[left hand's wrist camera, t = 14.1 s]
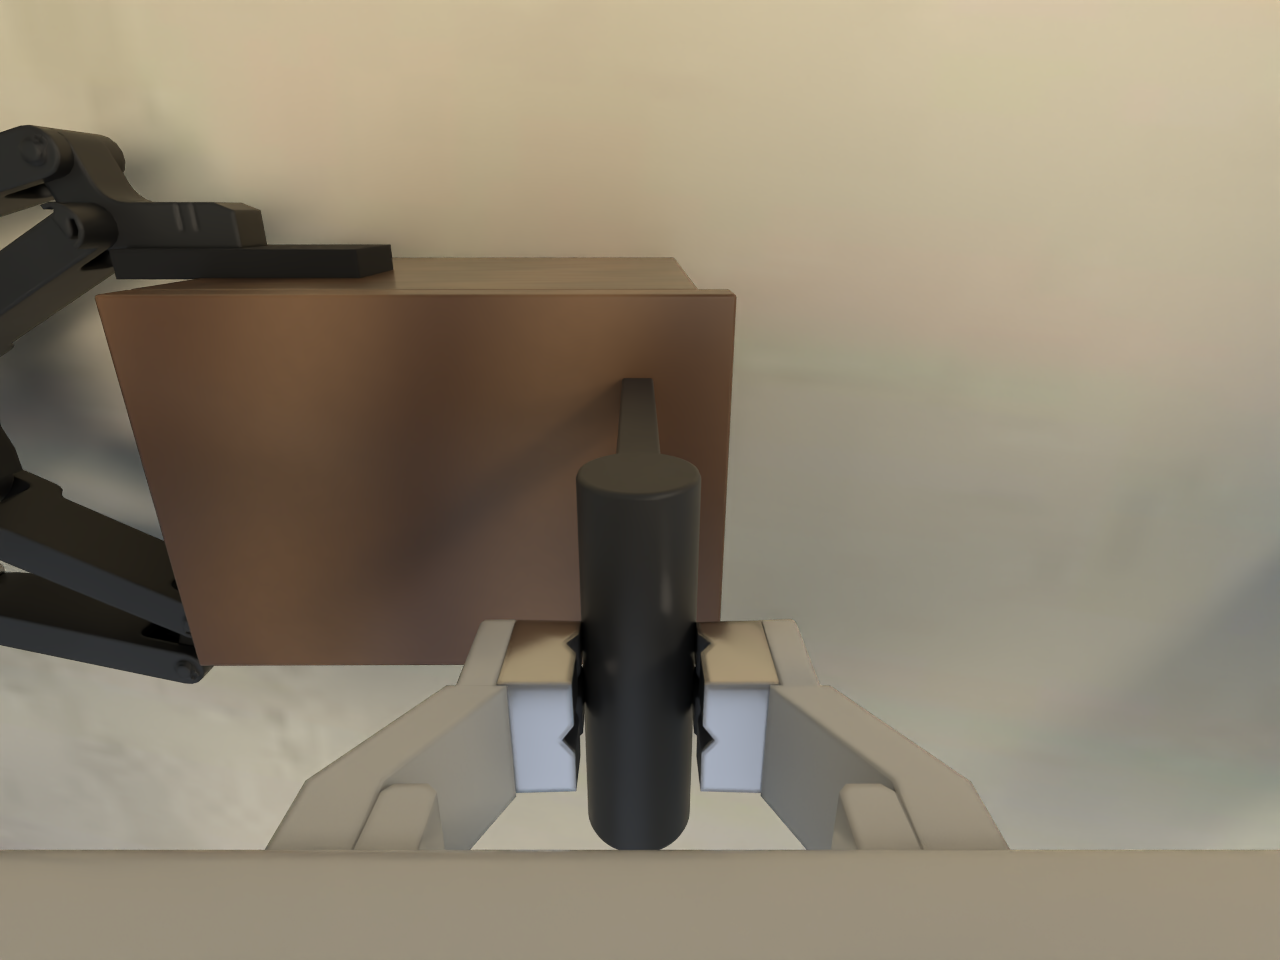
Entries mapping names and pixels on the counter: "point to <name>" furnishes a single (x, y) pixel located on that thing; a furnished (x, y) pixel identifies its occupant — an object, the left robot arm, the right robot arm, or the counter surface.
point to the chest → (479, 276)
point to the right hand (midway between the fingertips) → (399, 434)
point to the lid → (449, 489)
